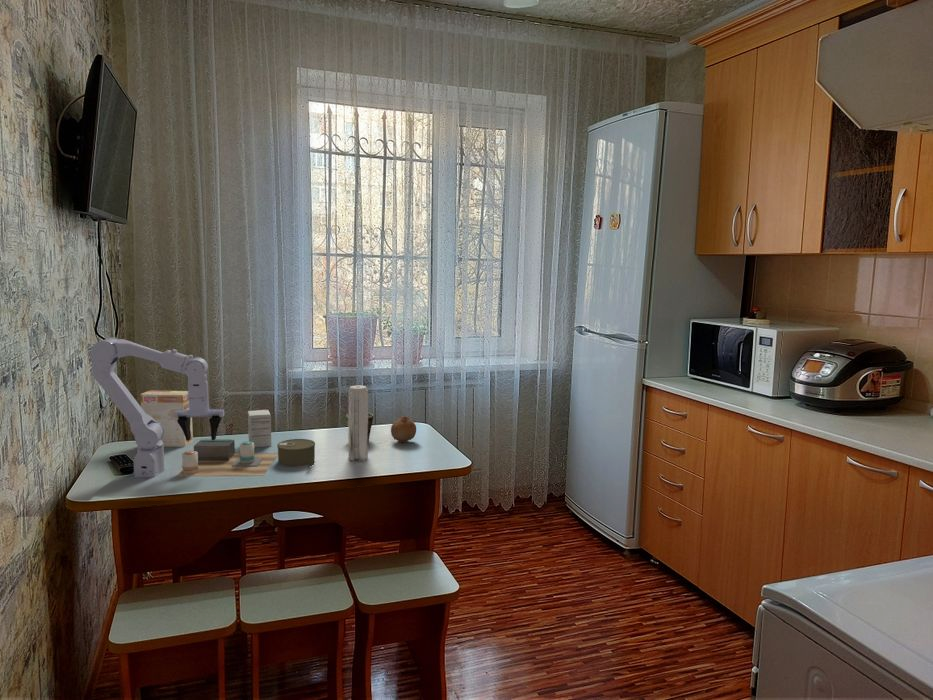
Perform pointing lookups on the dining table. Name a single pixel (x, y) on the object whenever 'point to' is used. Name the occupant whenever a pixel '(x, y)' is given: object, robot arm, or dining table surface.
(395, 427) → the onion
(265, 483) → the dining table surface
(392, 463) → the dining table surface
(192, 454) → the cylinder
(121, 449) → the dining table surface
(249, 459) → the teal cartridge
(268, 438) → the supplement box
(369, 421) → the ceramic cup
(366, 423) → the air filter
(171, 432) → the coffeecake box
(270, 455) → the board
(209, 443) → the box
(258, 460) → the mat
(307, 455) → the can
